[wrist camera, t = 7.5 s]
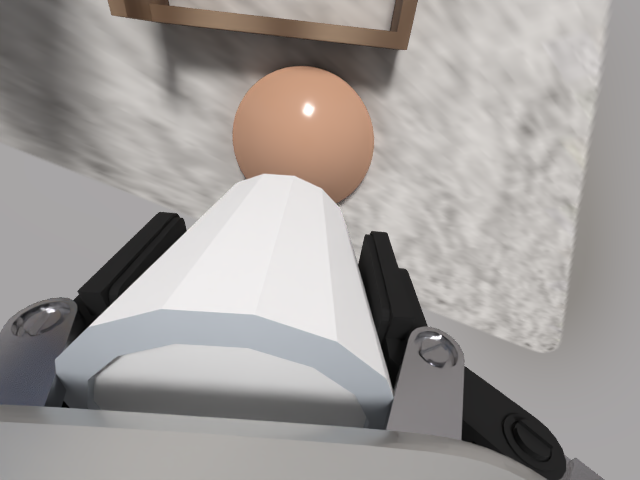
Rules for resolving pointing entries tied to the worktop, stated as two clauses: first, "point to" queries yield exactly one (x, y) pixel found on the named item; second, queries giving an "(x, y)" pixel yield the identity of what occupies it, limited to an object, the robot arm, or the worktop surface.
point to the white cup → (242, 321)
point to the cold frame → (273, 23)
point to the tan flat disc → (305, 130)
